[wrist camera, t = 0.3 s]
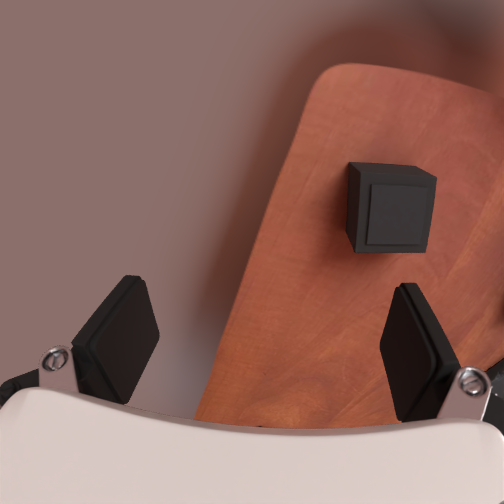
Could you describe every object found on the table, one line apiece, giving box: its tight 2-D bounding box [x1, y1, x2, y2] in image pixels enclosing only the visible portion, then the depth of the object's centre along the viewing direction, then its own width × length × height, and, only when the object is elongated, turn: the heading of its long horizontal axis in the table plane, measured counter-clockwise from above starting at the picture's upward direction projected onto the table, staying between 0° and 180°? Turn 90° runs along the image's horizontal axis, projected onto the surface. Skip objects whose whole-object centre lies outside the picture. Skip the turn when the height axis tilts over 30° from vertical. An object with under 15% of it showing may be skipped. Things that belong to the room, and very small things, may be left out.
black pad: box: [346, 162, 437, 253], centre depth 21 cm, size 6×6×4 cm
